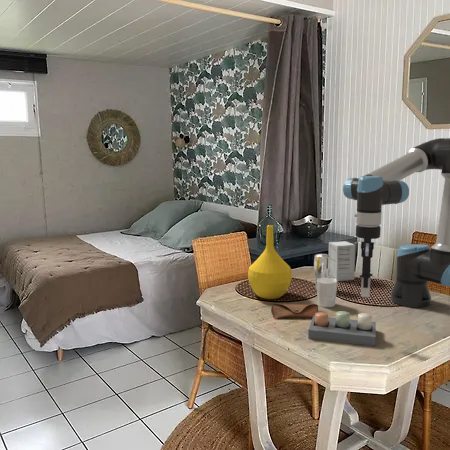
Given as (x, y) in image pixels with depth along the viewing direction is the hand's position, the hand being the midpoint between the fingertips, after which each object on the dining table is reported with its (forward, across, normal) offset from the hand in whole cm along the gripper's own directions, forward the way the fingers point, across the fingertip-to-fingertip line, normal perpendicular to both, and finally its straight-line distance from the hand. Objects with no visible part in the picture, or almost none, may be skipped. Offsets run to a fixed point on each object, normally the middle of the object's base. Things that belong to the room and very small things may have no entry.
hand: (365, 296), depth 152 cm
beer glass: (+14, -48, -19) cm, 53 cm away
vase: (+14, -33, -39) cm, 53 cm away
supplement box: (+14, -67, -12) cm, 70 cm away
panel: (+14, 0, -7) cm, 16 cm away
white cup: (+14, -28, -15) cm, 35 cm away
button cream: (+11, 0, 0) cm, 11 cm away
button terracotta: (+12, 0, -14) cm, 18 cm away
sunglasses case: (+15, -13, -24) cm, 31 cm away
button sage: (+11, 0, -7) cm, 13 cm away
